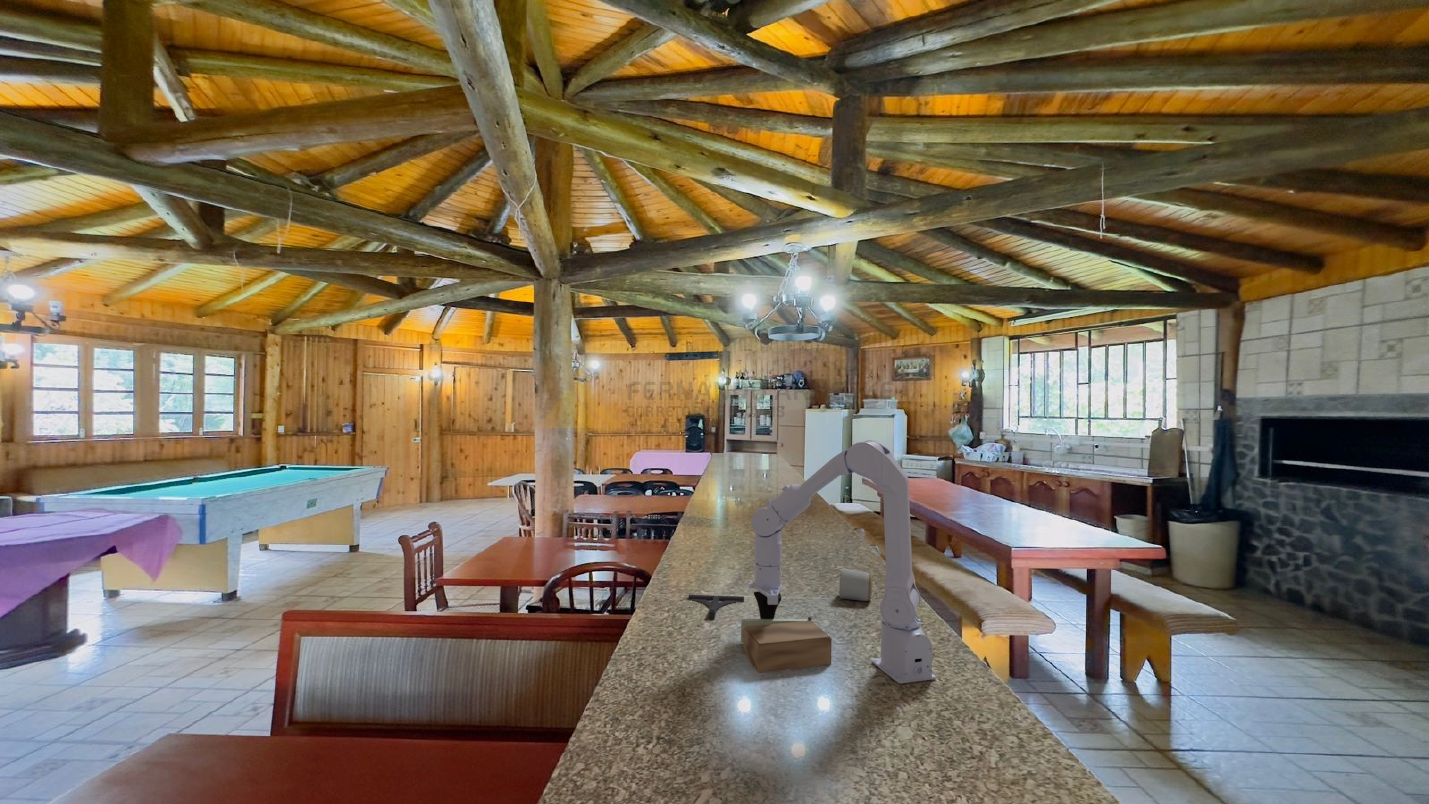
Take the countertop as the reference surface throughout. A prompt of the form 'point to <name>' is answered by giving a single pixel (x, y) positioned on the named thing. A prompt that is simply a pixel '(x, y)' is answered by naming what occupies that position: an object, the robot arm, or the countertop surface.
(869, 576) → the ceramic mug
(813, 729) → the countertop surface
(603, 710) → the countertop surface
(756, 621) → the door
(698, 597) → the bracket
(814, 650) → the cabinet
